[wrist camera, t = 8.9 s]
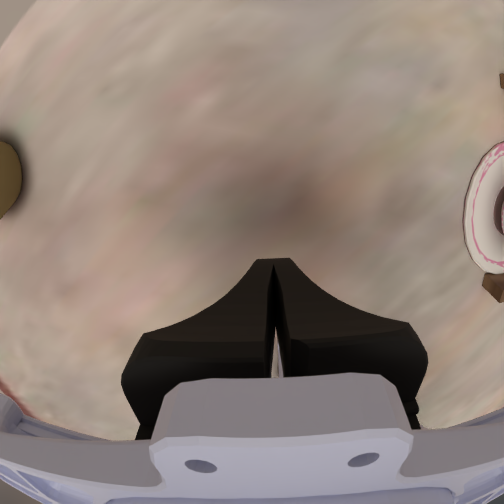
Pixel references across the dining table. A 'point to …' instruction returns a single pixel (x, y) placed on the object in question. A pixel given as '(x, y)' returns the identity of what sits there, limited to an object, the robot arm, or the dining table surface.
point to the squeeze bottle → (9, 177)
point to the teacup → (485, 212)
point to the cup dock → (495, 284)
